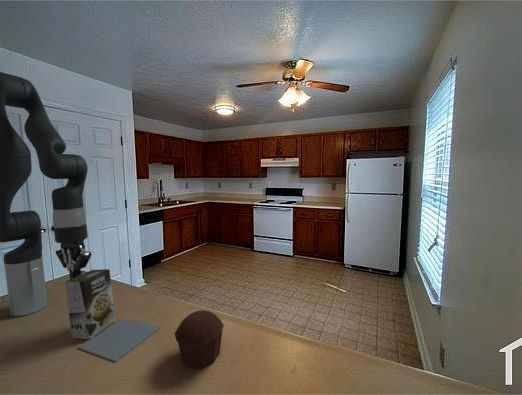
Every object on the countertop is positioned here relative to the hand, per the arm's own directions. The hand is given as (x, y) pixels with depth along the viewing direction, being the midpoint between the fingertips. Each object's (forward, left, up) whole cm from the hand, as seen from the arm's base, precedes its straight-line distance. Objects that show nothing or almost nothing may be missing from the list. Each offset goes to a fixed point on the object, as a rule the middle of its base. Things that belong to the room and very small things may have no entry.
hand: (76, 282), depth 73 cm
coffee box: (+7, 0, -13) cm, 15 cm away
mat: (+17, 0, -13) cm, 22 cm away
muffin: (+42, +2, -13) cm, 44 cm away
